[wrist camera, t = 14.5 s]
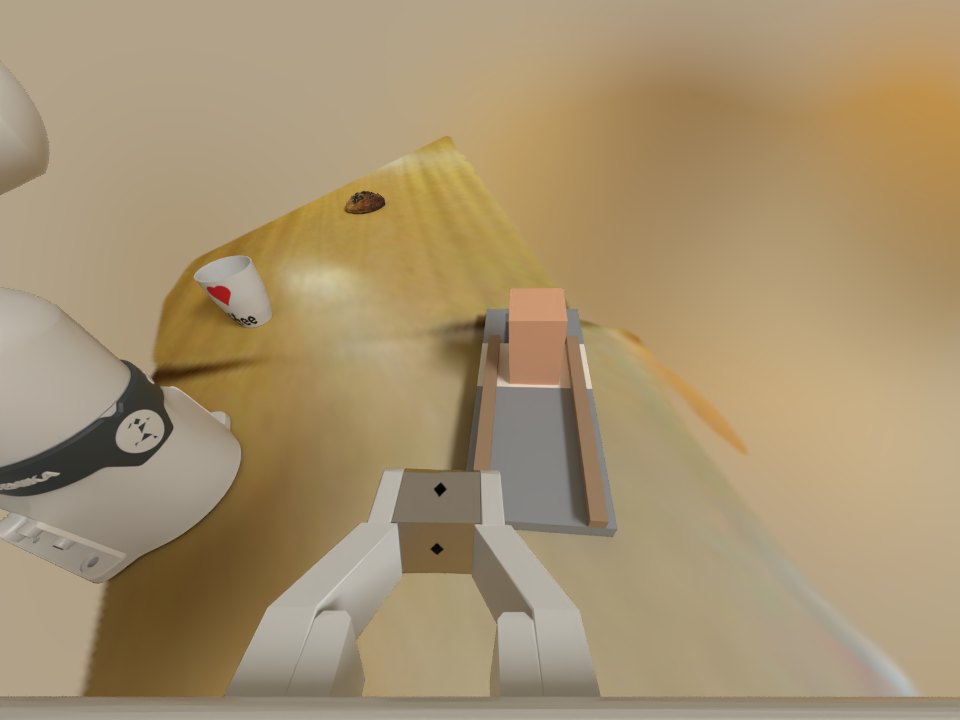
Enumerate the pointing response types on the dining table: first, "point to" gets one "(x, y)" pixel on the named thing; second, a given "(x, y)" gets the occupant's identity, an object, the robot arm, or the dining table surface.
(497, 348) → the tray
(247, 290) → the cup
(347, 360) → the dining table surface
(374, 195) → the bread roll
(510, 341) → the block
